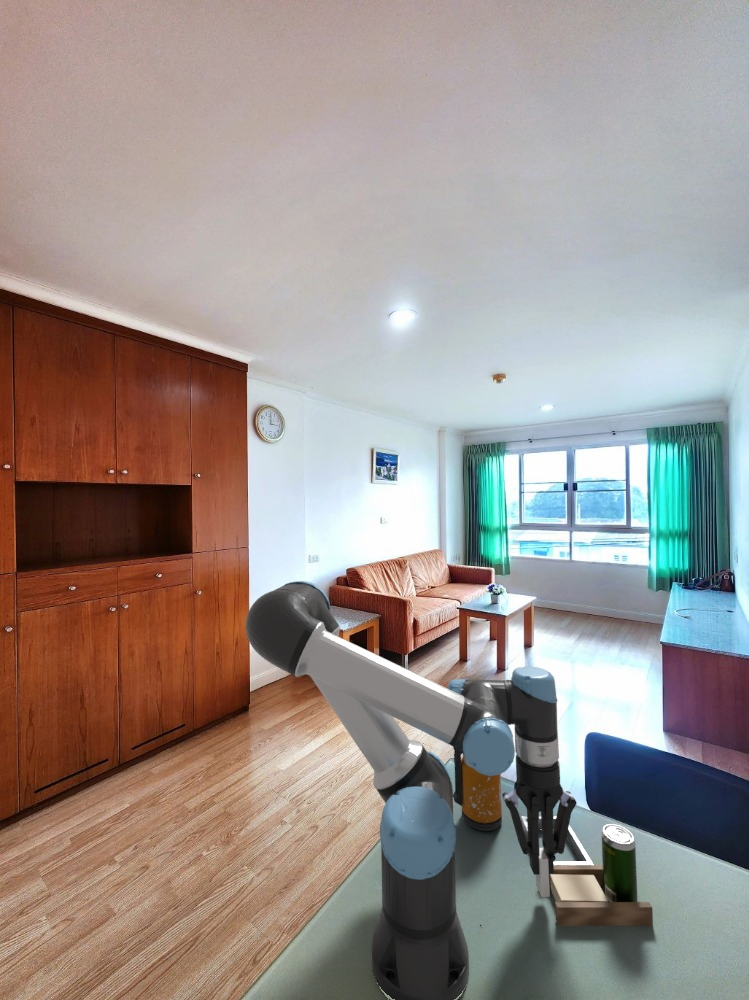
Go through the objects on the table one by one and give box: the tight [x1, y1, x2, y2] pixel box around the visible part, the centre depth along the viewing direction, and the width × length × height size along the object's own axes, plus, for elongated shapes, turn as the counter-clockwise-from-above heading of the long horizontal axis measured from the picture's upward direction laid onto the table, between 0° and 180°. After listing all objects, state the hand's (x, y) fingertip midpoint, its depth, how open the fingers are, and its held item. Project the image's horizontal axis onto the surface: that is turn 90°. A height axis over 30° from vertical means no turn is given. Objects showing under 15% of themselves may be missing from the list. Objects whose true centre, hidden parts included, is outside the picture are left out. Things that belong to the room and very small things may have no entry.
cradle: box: [520, 815, 594, 865], centre depth 90 cm, size 14×10×2 cm
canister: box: [452, 746, 503, 831], centre depth 100 cm, size 9×11×20 cm
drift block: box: [549, 874, 608, 902], centre depth 78 cm, size 8×6×3 cm
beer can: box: [601, 823, 639, 902], centre depth 78 cm, size 5×5×12 cm
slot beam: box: [549, 864, 654, 927], centre depth 78 cm, size 16×9×3 cm, turn 89°
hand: (542, 890), depth 78 cm, fingers closed
